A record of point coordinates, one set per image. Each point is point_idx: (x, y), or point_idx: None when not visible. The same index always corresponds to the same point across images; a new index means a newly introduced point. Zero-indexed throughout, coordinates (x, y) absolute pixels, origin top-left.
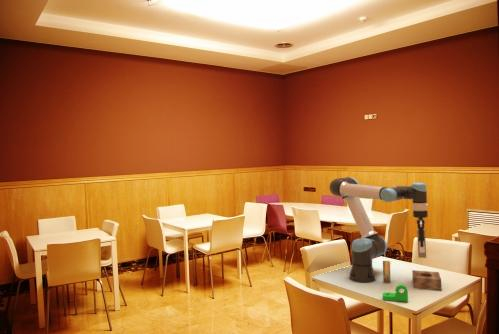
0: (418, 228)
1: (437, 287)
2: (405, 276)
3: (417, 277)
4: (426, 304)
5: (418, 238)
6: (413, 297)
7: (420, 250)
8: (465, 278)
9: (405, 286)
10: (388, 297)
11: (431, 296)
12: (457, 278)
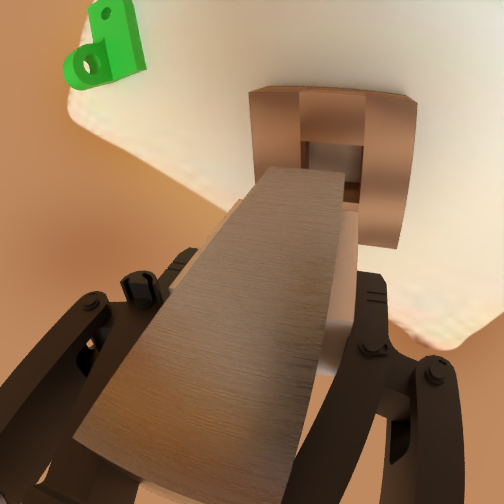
0: (37, 484)
1: None
2: (466, 72)
3: (259, 117)
4: (112, 142)
5: (167, 314)
6: (151, 94)
7: None
8: (446, 322)
9: (78, 83)
10: (92, 23)
11: (189, 159)
12: (449, 299)
